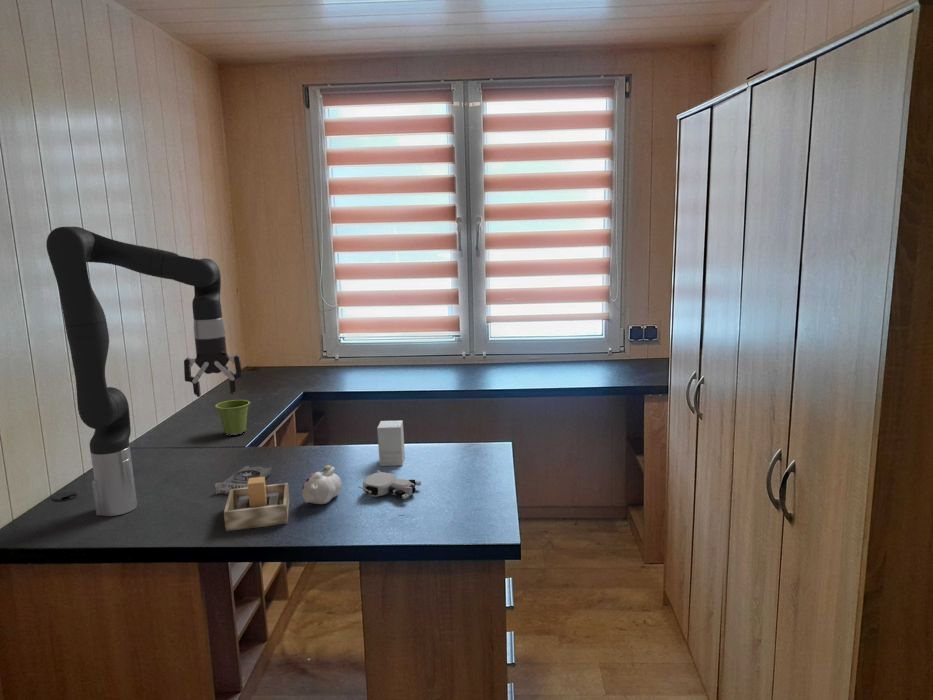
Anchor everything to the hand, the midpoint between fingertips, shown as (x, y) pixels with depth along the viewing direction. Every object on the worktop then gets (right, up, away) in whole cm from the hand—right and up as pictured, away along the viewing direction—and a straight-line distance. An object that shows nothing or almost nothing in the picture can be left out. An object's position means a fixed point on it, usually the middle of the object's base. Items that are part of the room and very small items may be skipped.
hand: (215, 394), depth 179 cm
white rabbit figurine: (+28, -30, +4) cm, 41 cm away
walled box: (+13, -31, -4) cm, 34 cm away
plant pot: (-17, -19, +64) cm, 69 cm away
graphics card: (+4, -28, +17) cm, 33 cm away
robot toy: (+46, -28, +7) cm, 55 cm away
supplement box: (+44, -24, +32) cm, 59 cm away
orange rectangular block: (+13, -31, -4) cm, 33 cm away
